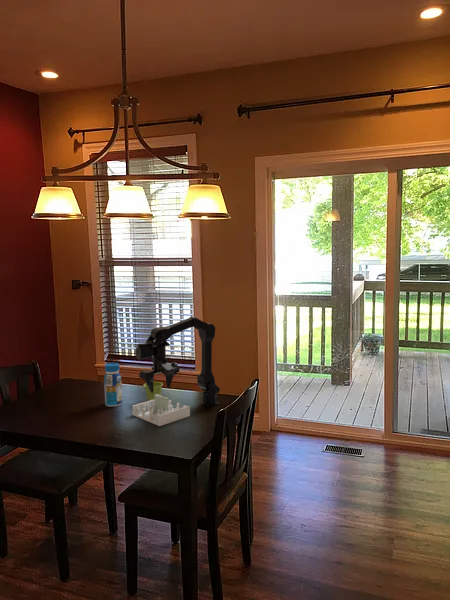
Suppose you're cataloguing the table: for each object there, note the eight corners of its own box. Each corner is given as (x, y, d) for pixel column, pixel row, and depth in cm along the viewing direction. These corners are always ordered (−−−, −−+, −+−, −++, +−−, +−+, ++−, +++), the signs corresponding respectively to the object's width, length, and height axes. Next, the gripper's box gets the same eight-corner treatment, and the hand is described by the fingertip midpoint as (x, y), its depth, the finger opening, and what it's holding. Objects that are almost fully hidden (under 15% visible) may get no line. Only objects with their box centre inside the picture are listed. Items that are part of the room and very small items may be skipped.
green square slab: (157, 411, 219) (157, 394, 218) (168, 415, 214) (167, 397, 213) (154, 411, 218) (154, 394, 217) (165, 416, 212) (165, 398, 212)
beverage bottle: (102, 403, 234) (100, 364, 232) (118, 400, 239) (116, 361, 237) (109, 408, 227) (107, 367, 225) (125, 404, 232) (123, 364, 230)
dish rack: (162, 406, 229) (162, 397, 229) (189, 415, 215) (189, 406, 215) (132, 415, 217) (132, 405, 217) (159, 426, 203) (159, 415, 203)
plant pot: (150, 405, 230) (149, 388, 229) (140, 401, 237) (140, 384, 236) (167, 401, 236) (166, 384, 235) (156, 397, 243) (156, 380, 242)
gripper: (153, 362, 201) (154, 398, 203) (186, 355, 214) (187, 389, 216) (137, 358, 209) (139, 393, 210) (171, 352, 222) (172, 384, 223)
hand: (160, 390), depth 215 cm, fingers open, 9 cm apart
